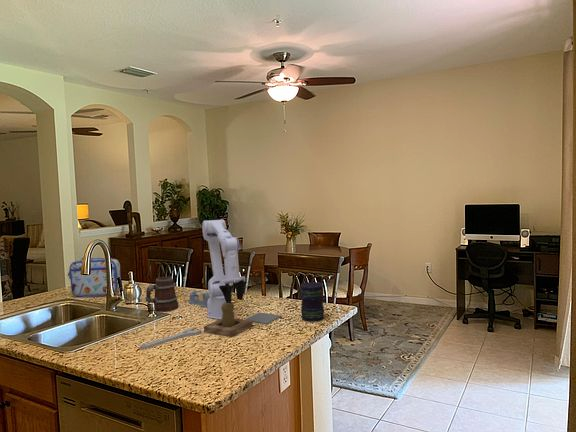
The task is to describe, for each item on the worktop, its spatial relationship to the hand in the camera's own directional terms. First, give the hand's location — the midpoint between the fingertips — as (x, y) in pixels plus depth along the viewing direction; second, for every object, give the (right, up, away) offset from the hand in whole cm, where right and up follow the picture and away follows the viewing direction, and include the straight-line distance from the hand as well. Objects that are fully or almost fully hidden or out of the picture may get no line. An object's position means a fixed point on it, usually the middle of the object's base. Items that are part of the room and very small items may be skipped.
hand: (234, 301), depth 174 cm
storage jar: (+32, -10, +13) cm, 36 cm away
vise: (-22, -10, +45) cm, 52 cm away
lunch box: (-87, -11, +70) cm, 112 cm away
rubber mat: (+11, -11, +15) cm, 21 cm away
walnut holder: (-3, -12, +2) cm, 12 cm away
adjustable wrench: (-24, -14, -7) cm, 28 cm away
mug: (-40, -11, +36) cm, 55 cm away
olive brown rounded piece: (-3, -12, +2) cm, 13 cm away
